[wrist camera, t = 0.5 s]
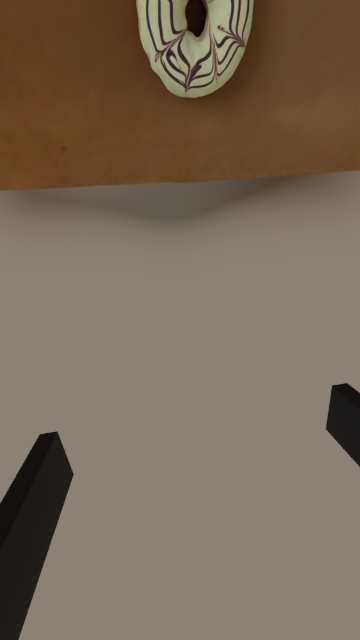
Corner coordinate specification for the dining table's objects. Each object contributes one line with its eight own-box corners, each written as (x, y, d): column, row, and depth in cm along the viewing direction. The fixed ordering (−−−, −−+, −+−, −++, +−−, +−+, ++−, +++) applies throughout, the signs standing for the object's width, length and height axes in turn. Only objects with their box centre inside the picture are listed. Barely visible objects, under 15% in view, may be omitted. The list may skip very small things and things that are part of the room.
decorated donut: (172, 115, 28) (176, 123, 26) (111, -25, 20) (109, -30, 18) (256, 51, 25) (269, 55, 23) (222, -144, 17) (237, -168, 15)
